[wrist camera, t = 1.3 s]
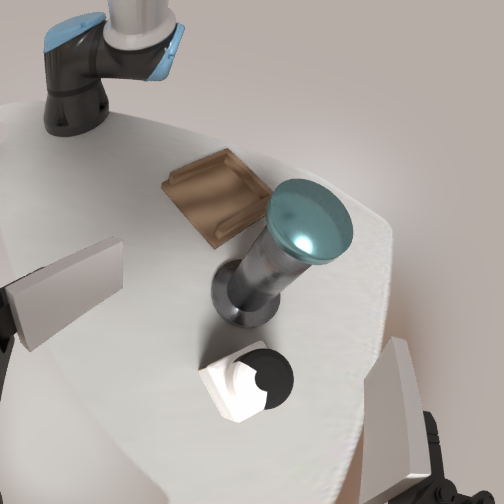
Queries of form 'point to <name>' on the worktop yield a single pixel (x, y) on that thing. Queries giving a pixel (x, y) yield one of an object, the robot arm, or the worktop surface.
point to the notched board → (218, 196)
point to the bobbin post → (282, 251)
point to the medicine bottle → (248, 381)
